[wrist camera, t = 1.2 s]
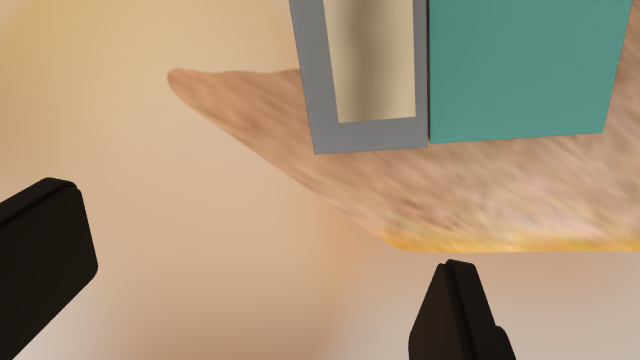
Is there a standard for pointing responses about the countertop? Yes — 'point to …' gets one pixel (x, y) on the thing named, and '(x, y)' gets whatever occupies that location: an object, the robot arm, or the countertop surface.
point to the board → (322, 93)
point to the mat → (521, 67)
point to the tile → (372, 58)
